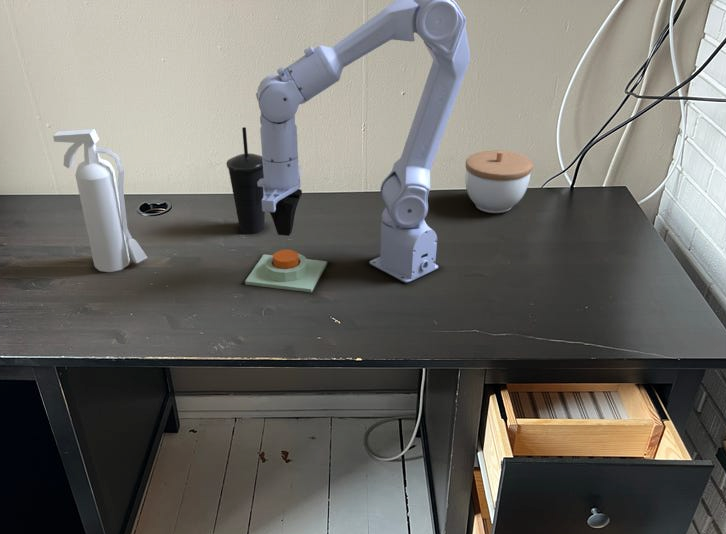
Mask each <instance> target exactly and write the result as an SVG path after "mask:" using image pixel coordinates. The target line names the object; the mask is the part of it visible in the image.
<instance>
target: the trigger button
mask: <svg viewBox="0 0 726 534" xmlns="http://www.w3.org/2000/svg"><path fill="white" fill-rule="evenodd" d="M298 254H299V252H297V251H295V250H292V249H281V250H278V251H276V252H274V253H273V254H272V255H273V264H274V267H276V268H278V269H290V268H294V267H296V266H298V264H299V259H298Z"/></svg>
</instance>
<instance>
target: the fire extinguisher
mask: <svg viewBox="0 0 726 534" xmlns="http://www.w3.org/2000/svg"><path fill="white" fill-rule="evenodd" d="M52 138H53V142H54V143H55V142H56V143H70V144H72V145H70V146H69V147H68V149H67V150H66V152H65V154H64V155H63V166H64V167H65V168H67V169H70V168H72V167H73V166H74V161H75V155H76V153H77V151H78V150H79V148H80V147H81V146H82V145H83V153H84V157H83V158H84V160H83V161H82V162H80V163H78V164H77V168H76V171H75V174H74V175H75V180H76V185H77V189H78V190H77V191H78V195H79V200H80V204H81V209H82V214H83V219H84V223H85V228H86V233H87V238H88V242H89V243H88V244H89V247H90V252H91V256H92V262H93V267H94V268H95V269H96V270H98V271H99V272H104V273H105V272H106V273H113V272H118V271H122V270H124V269H125V268H126V267H128V266H129V265H130V261H131V260H132V261H133V262H134V263H135V264H138V263H141V262H142V261H144V260H146V259H149V258H148V257H149V256H148V255H146V253H145V252H144V249H142V247H141V246H140V244H139V242H138V241H137V239H134V238H133V237H132V235H131V233H130V230H129V229H128V221H127V212H126V202H125V201H126V200H125V192H124V180H125V179H124V178H125V170H124V166H123V164H122V161H121V158H120V155H119V154H117V153H115V152H114V151H112V150H111V149H109V148H107V147H102V146H101V147H100V146H99V147H98V146H97V145H96V144H97V142H99V141H100V137H99V136H98V133H97V131H96V129H95V128H87V129H73V130H72V129H71V130H58V131H57V132H56V133H55V134H53V136H52ZM100 154H106V155H108V156H109V157H111V158H113V159H114V160H115V164H116V167H117V171H118V172H117V173H118V175H117V177H118V178H116V170H115V168H114V166H113V165H112V164H111V162H110V161H108V160H106V159H103V158H101V156H100ZM130 257H131V259H130Z"/></svg>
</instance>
